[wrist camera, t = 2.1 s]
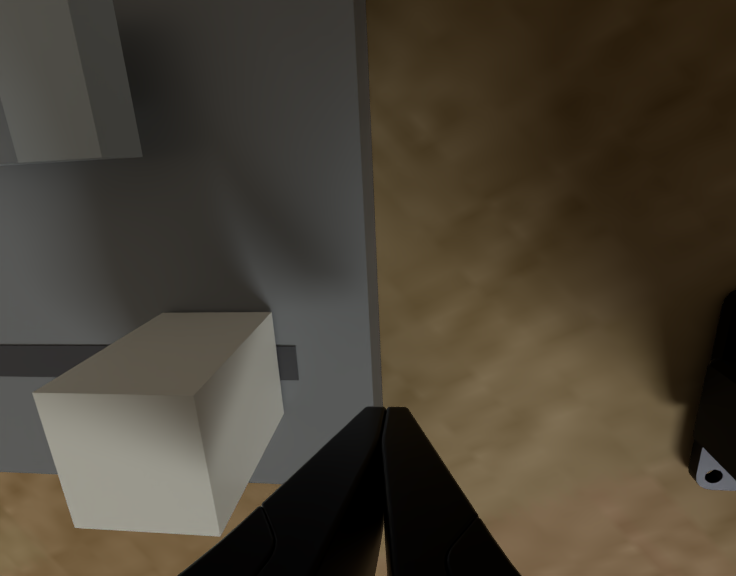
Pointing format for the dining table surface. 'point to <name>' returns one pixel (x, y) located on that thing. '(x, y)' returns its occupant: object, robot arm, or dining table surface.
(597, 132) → the dining table surface
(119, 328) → the switch console
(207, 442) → the off-white cube
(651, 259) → the dining table surface
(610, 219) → the dining table surface
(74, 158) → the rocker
